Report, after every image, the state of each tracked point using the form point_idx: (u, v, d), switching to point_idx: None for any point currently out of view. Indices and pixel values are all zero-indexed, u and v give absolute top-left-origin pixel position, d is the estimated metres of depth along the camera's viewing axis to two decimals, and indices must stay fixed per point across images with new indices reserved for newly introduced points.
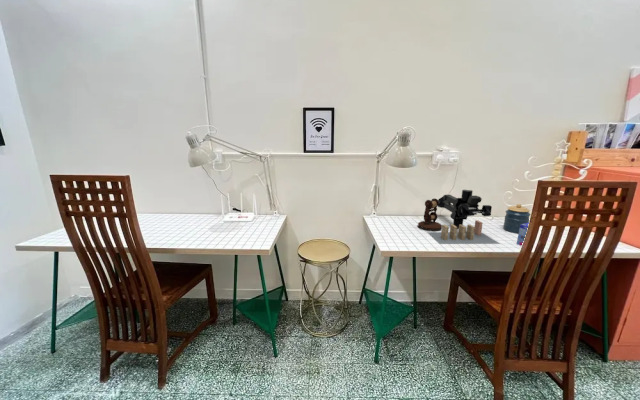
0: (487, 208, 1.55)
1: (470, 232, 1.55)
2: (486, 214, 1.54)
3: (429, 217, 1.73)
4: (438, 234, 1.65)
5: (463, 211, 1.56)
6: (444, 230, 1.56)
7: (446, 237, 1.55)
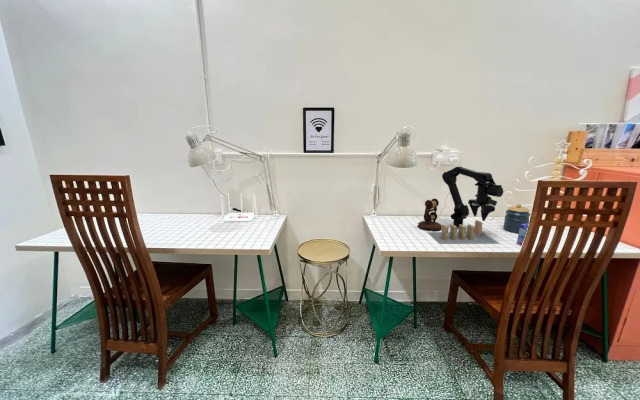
0: None
1: (470, 232, 1.55)
2: (473, 210, 1.67)
3: (429, 217, 1.73)
4: (438, 234, 1.65)
5: None
6: (444, 230, 1.56)
7: (446, 237, 1.55)
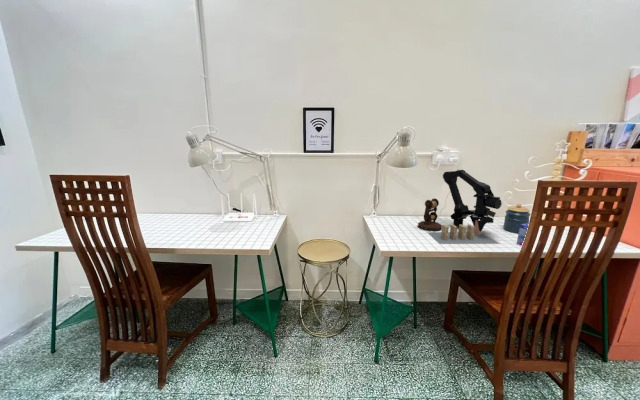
0: None
1: (470, 232, 1.55)
2: (474, 222, 1.67)
3: (429, 217, 1.73)
4: (438, 234, 1.65)
5: None
6: (444, 230, 1.56)
7: (446, 237, 1.55)
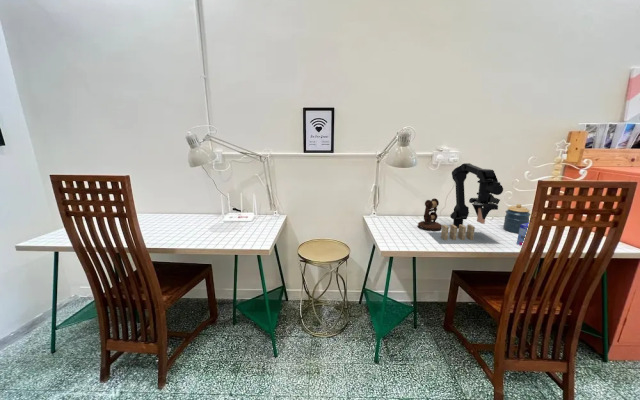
0: None
1: (470, 232, 1.55)
2: (477, 210, 1.57)
3: (429, 217, 1.73)
4: (438, 234, 1.65)
5: None
6: (444, 230, 1.56)
7: (446, 237, 1.55)
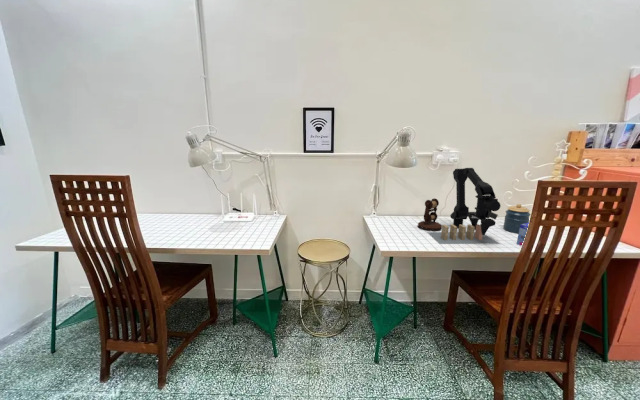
0: None
1: (470, 232, 1.55)
2: (473, 223, 1.61)
3: (429, 217, 1.73)
4: (438, 234, 1.65)
5: None
6: (444, 230, 1.56)
7: (446, 237, 1.55)
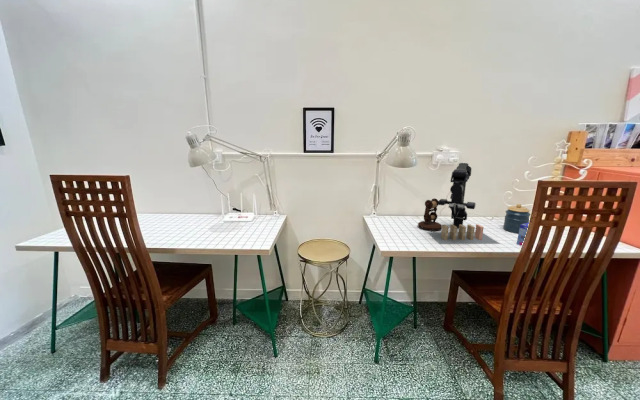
0: None
1: (470, 232, 1.55)
2: (454, 211, 1.53)
3: (429, 217, 1.73)
4: (438, 234, 1.65)
5: None
6: (444, 230, 1.56)
7: (446, 237, 1.55)
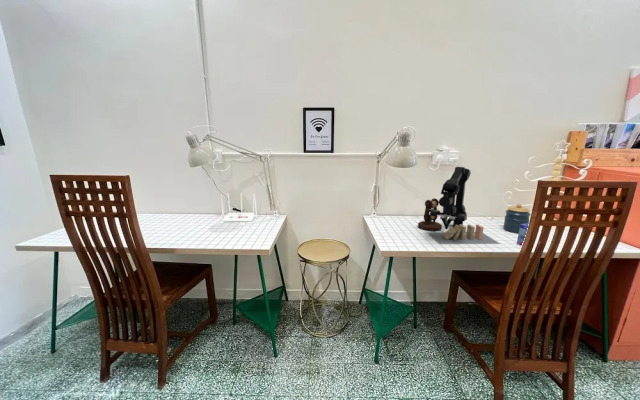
0: None
1: (470, 232, 1.55)
2: (446, 223, 1.55)
3: (429, 217, 1.73)
4: (438, 234, 1.65)
5: None
6: (451, 231, 1.56)
7: (449, 237, 1.55)
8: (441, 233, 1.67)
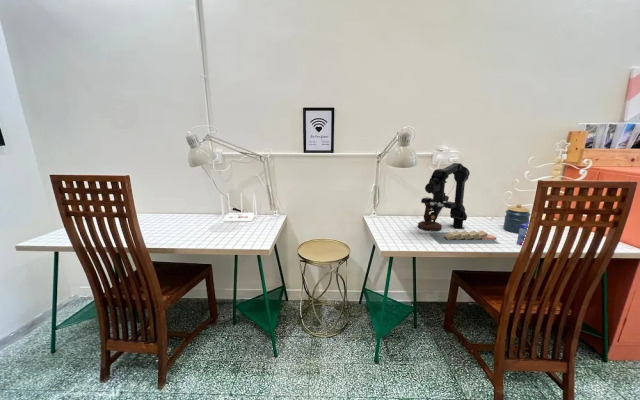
0: None
1: (480, 234, 1.56)
2: (435, 210, 1.58)
3: (429, 217, 1.73)
4: (438, 234, 1.65)
5: None
6: (455, 234, 1.56)
7: (450, 238, 1.56)
8: (441, 233, 1.67)
